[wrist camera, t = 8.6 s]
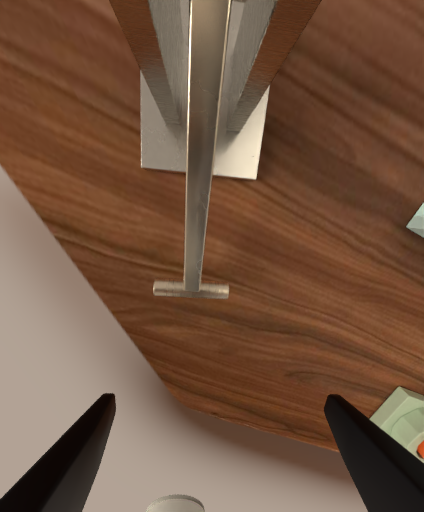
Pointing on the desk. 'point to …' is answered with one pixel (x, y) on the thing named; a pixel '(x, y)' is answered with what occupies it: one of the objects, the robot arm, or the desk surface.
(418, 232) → the right angle wall
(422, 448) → the button
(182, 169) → the bracket
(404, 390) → the control block
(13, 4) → the desk surface
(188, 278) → the lever
